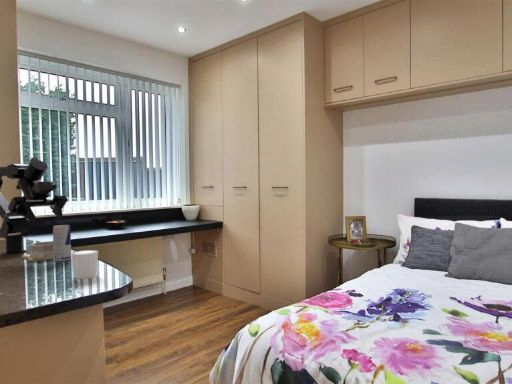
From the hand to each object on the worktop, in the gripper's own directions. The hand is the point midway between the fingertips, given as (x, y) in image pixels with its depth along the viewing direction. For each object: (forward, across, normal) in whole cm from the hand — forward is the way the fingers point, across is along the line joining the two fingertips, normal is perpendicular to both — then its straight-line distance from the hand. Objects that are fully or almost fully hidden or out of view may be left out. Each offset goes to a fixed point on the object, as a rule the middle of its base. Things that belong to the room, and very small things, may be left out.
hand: (49, 220), depth 127 cm
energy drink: (+15, 0, +4) cm, 16 cm away
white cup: (+34, -10, -15) cm, 39 cm away
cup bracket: (+8, 0, +12) cm, 14 cm away
